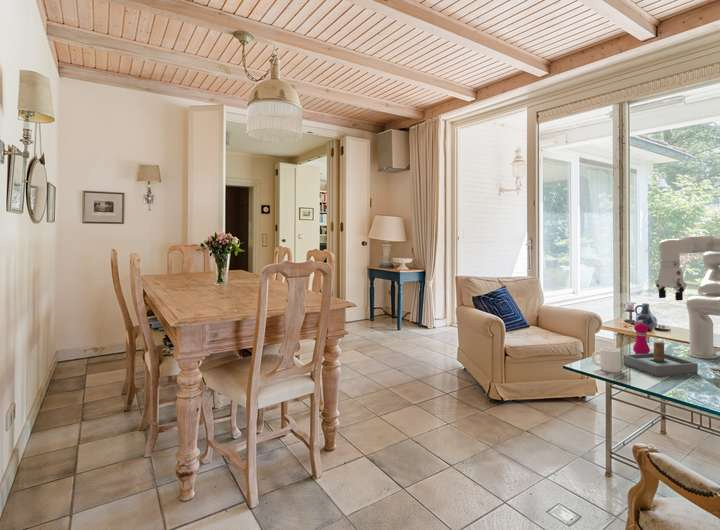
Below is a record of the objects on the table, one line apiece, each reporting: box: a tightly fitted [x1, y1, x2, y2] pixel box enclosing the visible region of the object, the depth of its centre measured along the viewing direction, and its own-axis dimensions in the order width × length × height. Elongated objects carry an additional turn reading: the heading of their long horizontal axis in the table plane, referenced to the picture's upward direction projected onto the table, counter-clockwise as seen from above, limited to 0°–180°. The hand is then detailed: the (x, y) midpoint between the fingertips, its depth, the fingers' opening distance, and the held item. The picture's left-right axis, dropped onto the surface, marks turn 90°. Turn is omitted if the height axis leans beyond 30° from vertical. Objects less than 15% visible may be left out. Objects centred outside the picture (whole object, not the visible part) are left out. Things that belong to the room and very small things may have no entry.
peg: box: [653, 341, 665, 363], centre depth 190 cm, size 4×4×12 cm
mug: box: [591, 346, 622, 374], centre depth 193 cm, size 12×8×10 cm
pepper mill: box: [632, 319, 651, 354], centre depth 209 cm, size 7×7×20 cm
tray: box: [623, 352, 699, 378], centre depth 190 cm, size 20×20×5 cm
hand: (670, 299), depth 197 cm, fingers open, 9 cm apart
